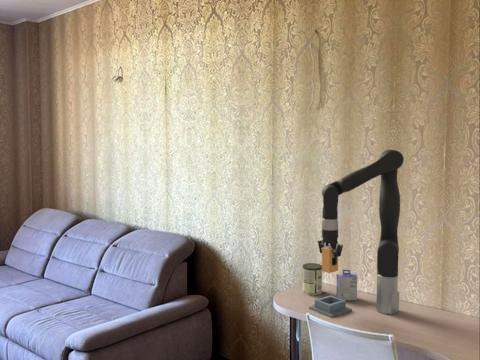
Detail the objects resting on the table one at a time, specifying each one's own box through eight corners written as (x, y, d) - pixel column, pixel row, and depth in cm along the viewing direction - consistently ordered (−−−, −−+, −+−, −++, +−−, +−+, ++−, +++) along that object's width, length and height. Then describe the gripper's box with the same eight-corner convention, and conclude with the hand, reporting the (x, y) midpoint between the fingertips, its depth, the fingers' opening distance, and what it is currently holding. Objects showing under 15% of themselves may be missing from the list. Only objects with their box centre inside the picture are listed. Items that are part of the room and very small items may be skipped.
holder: (351, 310, 215) (351, 301, 215) (331, 317, 207) (331, 308, 206) (328, 302, 226) (328, 293, 226) (308, 308, 218) (309, 299, 217)
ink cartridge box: (355, 296, 234) (355, 269, 233) (357, 300, 228) (358, 272, 227) (335, 296, 234) (336, 269, 233) (337, 300, 229) (338, 272, 227)
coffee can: (304, 287, 248) (305, 262, 247) (323, 289, 245) (324, 264, 243) (300, 293, 239) (300, 267, 238) (319, 296, 235) (320, 269, 234)
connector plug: (338, 270, 215) (338, 245, 214) (329, 273, 212) (329, 247, 211) (330, 268, 219) (330, 243, 218) (322, 271, 215) (322, 245, 214)
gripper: (347, 229, 210) (347, 265, 212) (324, 225, 222) (324, 259, 223) (336, 231, 206) (336, 268, 207) (313, 226, 217) (313, 262, 219)
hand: (330, 263), depth 215 cm, fingers closed on connector plug, 4 cm apart
